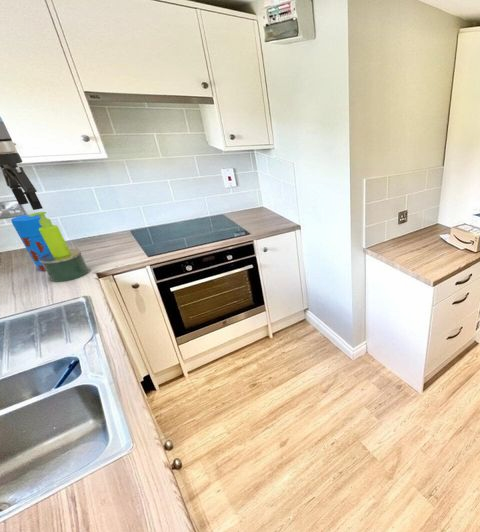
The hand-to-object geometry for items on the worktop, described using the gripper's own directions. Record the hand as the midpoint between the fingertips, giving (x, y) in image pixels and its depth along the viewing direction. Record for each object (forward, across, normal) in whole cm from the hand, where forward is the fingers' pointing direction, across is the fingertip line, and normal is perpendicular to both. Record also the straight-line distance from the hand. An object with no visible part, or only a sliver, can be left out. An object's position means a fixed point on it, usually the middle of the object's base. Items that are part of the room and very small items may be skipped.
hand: (30, 206), depth 133 cm
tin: (+34, +2, -2) cm, 34 cm away
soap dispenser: (+24, +2, -2) cm, 24 cm away
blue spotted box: (+34, +20, -2) cm, 39 cm away
